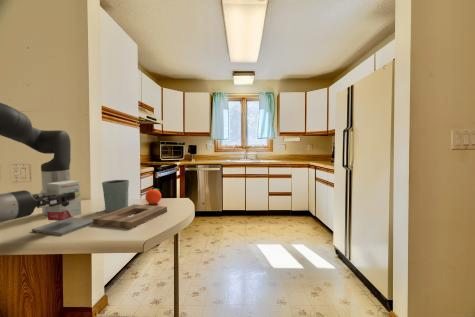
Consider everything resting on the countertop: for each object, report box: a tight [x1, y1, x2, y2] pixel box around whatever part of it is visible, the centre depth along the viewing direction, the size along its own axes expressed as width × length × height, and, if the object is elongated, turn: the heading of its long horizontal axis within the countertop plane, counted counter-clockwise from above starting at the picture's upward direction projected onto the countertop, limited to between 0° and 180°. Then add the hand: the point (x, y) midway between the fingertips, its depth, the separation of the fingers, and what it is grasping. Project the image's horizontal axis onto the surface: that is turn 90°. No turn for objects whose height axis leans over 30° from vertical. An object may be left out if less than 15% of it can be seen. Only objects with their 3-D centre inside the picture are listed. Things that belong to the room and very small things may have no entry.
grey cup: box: [101, 179, 130, 213], centre depth 102 cm, size 10×10×12 cm
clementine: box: [144, 188, 162, 205], centre depth 111 cm, size 8×7×7 cm
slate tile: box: [31, 216, 94, 236], centre depth 81 cm, size 13×13×1 cm
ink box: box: [46, 180, 82, 222], centre depth 81 cm, size 9×5×12 cm, turn 168°
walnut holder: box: [92, 203, 168, 229], centre depth 90 cm, size 16×20×2 cm
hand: (67, 194), depth 82 cm, fingers closed on ink box, 5 cm apart
